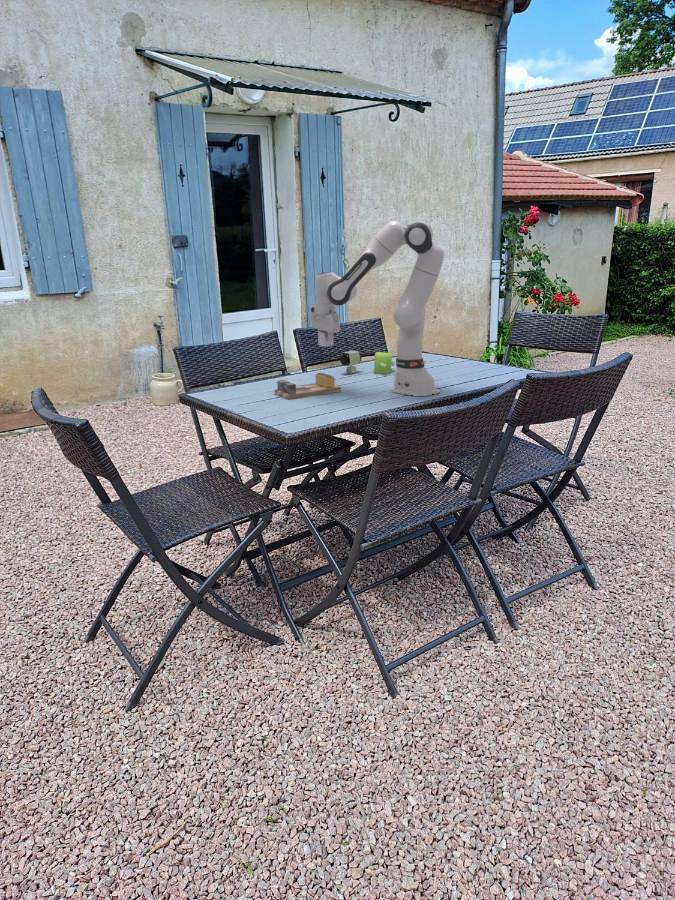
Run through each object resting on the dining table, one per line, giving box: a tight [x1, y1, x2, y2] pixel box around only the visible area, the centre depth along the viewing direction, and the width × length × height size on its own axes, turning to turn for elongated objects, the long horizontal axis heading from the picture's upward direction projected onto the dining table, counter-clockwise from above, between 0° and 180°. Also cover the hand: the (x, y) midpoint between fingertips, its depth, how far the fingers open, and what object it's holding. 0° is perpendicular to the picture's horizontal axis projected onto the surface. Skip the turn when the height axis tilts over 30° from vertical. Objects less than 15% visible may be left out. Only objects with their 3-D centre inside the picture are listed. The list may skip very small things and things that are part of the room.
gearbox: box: [373, 351, 395, 375], centre depth 339 cm, size 18×10×10 cm, turn 174°
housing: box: [317, 331, 334, 347], centre depth 301 cm, size 5×5×8 cm
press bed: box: [274, 379, 342, 401], centre depth 298 cm, size 14×26×6 cm, turn 121°
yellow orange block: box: [315, 372, 335, 387], centre depth 302 cm, size 10×4×5 cm, turn 31°
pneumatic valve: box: [339, 349, 363, 375], centre depth 338 cm, size 6×12×12 cm, turn 136°
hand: (325, 340), depth 301 cm, fingers closed on housing, 5 cm apart
